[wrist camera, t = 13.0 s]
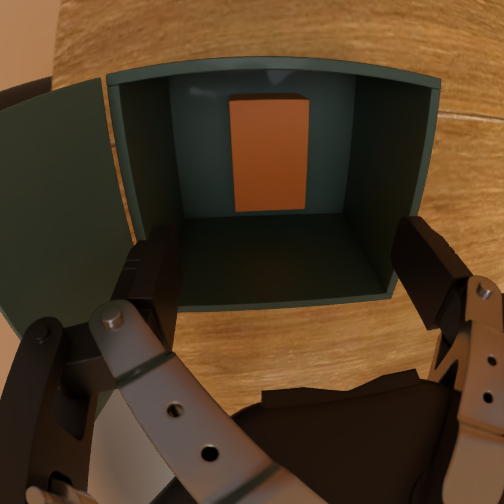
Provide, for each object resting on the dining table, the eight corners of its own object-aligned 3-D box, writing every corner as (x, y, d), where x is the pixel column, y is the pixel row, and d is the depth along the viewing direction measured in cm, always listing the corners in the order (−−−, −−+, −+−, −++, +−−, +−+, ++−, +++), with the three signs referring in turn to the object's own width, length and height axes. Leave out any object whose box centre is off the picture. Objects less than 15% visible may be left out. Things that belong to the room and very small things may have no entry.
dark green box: (180, 221, 24) (157, 313, 16) (161, 63, 17) (105, 74, 9) (345, 215, 24) (391, 299, 16) (360, 62, 17) (442, 79, 9)
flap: (158, 322, 15) (151, 321, 15) (101, 76, 8) (93, 78, 8) (94, 422, 11) (88, 418, 11) (-67, 146, 3) (-71, 148, 4)
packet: (235, 191, 22) (235, 212, 19) (229, 94, 18) (228, 100, 15) (296, 189, 22) (304, 209, 20) (299, 93, 18) (309, 99, 15)
